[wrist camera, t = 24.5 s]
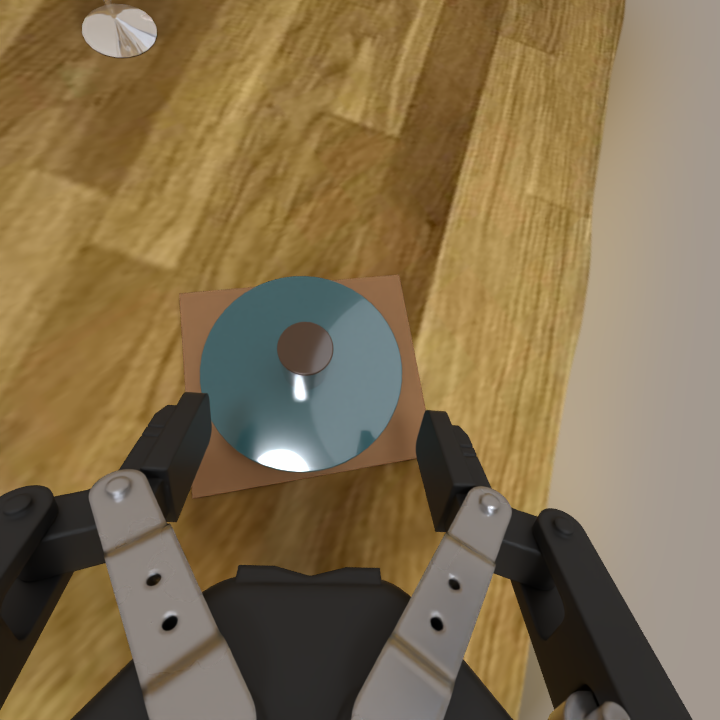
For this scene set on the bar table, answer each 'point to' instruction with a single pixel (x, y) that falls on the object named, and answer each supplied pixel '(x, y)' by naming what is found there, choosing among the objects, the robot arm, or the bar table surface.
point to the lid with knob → (301, 374)
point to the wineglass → (119, 30)
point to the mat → (237, 472)
